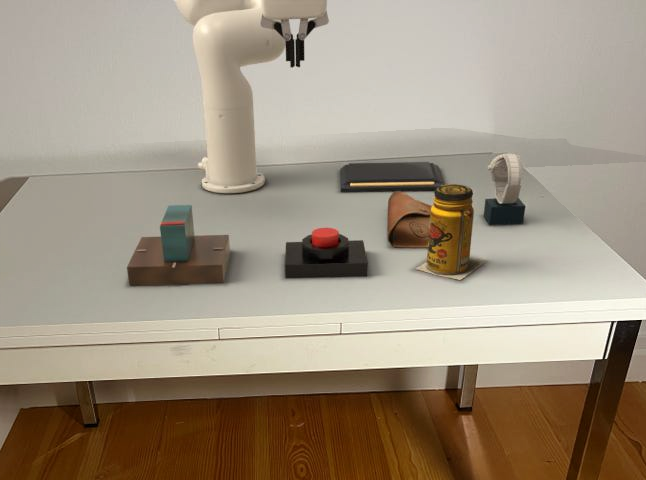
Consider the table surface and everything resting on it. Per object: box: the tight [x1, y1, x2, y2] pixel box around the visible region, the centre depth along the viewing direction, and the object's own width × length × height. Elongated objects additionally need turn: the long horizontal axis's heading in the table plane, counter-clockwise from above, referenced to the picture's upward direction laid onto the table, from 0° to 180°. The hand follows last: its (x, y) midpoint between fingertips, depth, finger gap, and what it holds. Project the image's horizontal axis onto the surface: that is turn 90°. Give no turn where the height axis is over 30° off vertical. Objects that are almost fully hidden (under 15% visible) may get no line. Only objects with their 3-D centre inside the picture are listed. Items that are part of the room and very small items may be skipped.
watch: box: [483, 153, 526, 226], centre depth 125 cm, size 6×8×11 cm
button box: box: [284, 233, 369, 279], centre depth 114 cm, size 12×9×4 cm
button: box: [311, 227, 340, 247], centre depth 112 cm, size 4×4×2 cm
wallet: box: [339, 161, 445, 193], centre depth 149 cm, size 20×2×15 cm
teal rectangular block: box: [159, 204, 196, 262], centre depth 113 cm, size 9×4×6 cm, turn 178°
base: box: [126, 234, 231, 287], centre depth 115 cm, size 14×13×3 cm
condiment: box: [415, 183, 488, 281], centre depth 109 cm, size 7×8×12 cm
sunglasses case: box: [386, 191, 433, 249], centre depth 126 cm, size 18×7×7 cm
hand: (295, 65), depth 122 cm, fingers closed
